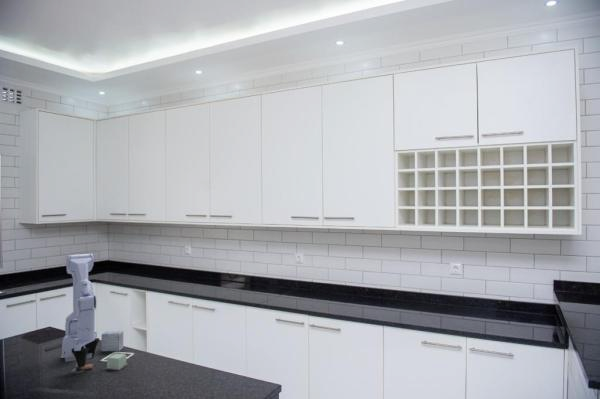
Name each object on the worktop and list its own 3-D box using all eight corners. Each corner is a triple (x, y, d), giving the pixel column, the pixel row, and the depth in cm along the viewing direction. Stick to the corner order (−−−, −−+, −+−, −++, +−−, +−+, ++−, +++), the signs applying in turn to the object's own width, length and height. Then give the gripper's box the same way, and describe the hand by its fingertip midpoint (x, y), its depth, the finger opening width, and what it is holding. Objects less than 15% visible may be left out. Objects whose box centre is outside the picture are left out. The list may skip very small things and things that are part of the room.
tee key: (64, 372, 147) (65, 357, 147) (65, 370, 148) (65, 355, 148) (92, 368, 151) (92, 353, 151) (92, 366, 152) (92, 351, 152)
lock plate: (57, 376, 147) (58, 372, 147) (81, 363, 159) (81, 359, 159) (110, 380, 144) (110, 377, 144) (130, 366, 156) (130, 363, 156)
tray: (100, 364, 158) (100, 360, 158) (114, 355, 168) (114, 351, 168) (121, 365, 157) (121, 362, 157) (134, 356, 166) (134, 353, 166)
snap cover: (107, 368, 151) (107, 358, 151) (115, 363, 156) (115, 353, 156) (118, 369, 151) (118, 359, 151) (126, 364, 156) (126, 354, 156)
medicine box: (123, 350, 174) (123, 330, 174) (119, 353, 169) (119, 334, 169) (105, 350, 173) (106, 330, 174) (101, 354, 169) (101, 334, 169)
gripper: (84, 321, 155) (83, 355, 155) (65, 333, 141) (65, 371, 141) (102, 320, 156) (102, 354, 156) (85, 333, 142) (85, 370, 142)
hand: (85, 362), depth 148 cm, fingers open, 7 cm apart
